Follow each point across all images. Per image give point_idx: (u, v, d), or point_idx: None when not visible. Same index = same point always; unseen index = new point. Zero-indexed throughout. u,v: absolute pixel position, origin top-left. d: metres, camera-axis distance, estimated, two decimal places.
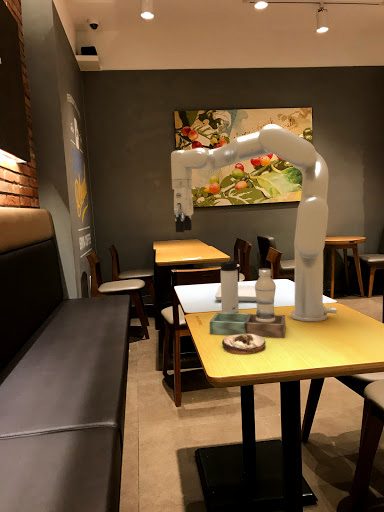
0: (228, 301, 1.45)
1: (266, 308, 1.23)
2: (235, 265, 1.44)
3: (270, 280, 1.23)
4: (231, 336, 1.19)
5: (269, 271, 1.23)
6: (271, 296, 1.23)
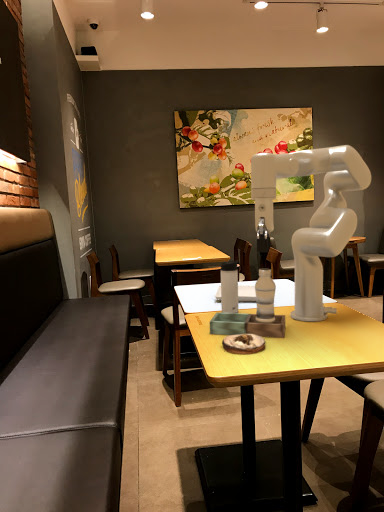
0: (228, 301, 1.45)
1: (266, 308, 1.23)
2: (235, 265, 1.44)
3: (270, 280, 1.23)
4: (231, 336, 1.19)
5: (269, 271, 1.23)
6: (271, 296, 1.23)
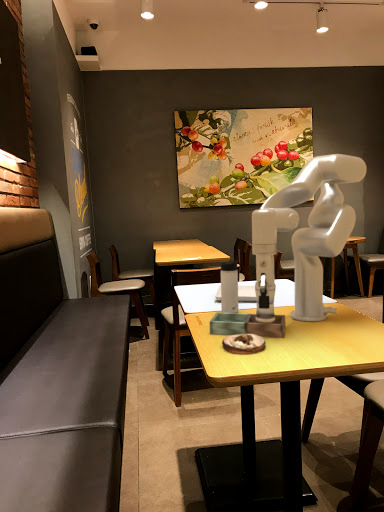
0: (228, 301, 1.45)
1: None
2: (235, 265, 1.44)
3: None
4: (231, 336, 1.19)
5: None
6: (271, 296, 1.23)
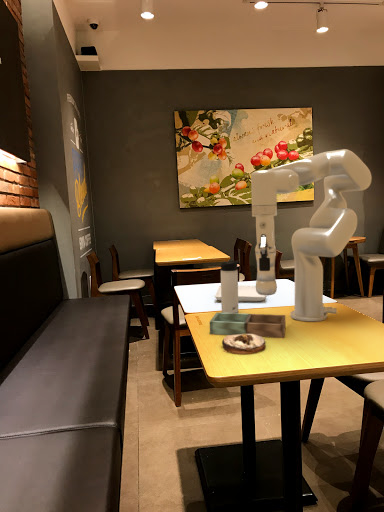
0: (228, 301, 1.45)
1: None
2: (235, 265, 1.44)
3: None
4: (231, 336, 1.19)
5: None
6: (272, 258, 1.22)
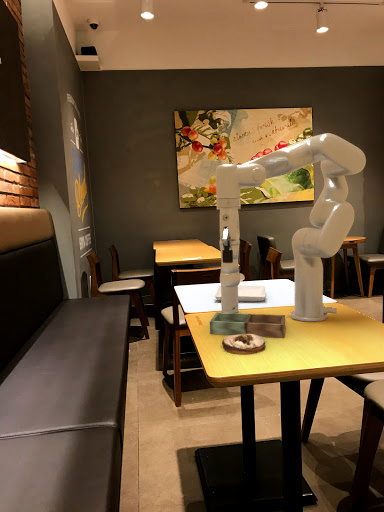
0: (228, 301, 1.45)
1: None
2: None
3: None
4: (231, 336, 1.19)
5: None
6: (235, 251, 1.24)
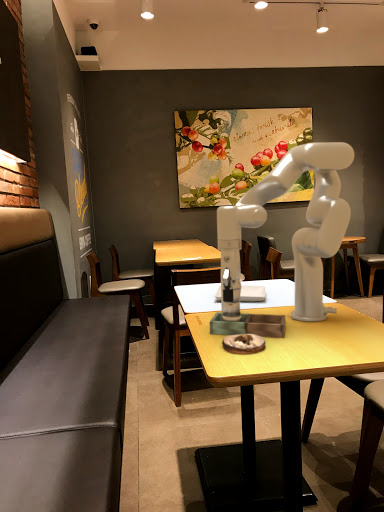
0: None
1: (232, 306, 1.27)
2: None
3: None
4: (231, 336, 1.19)
5: None
6: (236, 295, 1.26)
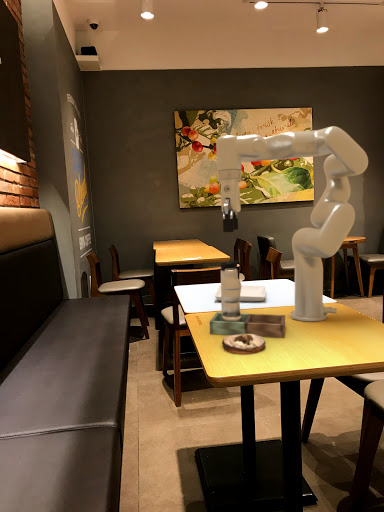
0: None
1: (232, 306, 1.27)
2: (235, 265, 1.44)
3: (235, 279, 1.26)
4: (231, 336, 1.19)
5: (234, 270, 1.26)
6: (236, 295, 1.26)
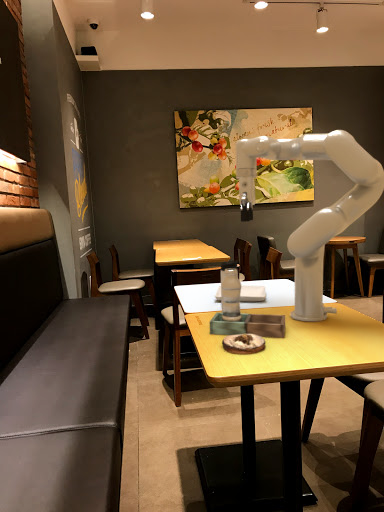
0: None
1: (232, 306, 1.27)
2: (235, 265, 1.44)
3: (235, 279, 1.26)
4: (231, 336, 1.19)
5: (234, 270, 1.26)
6: (236, 295, 1.26)
